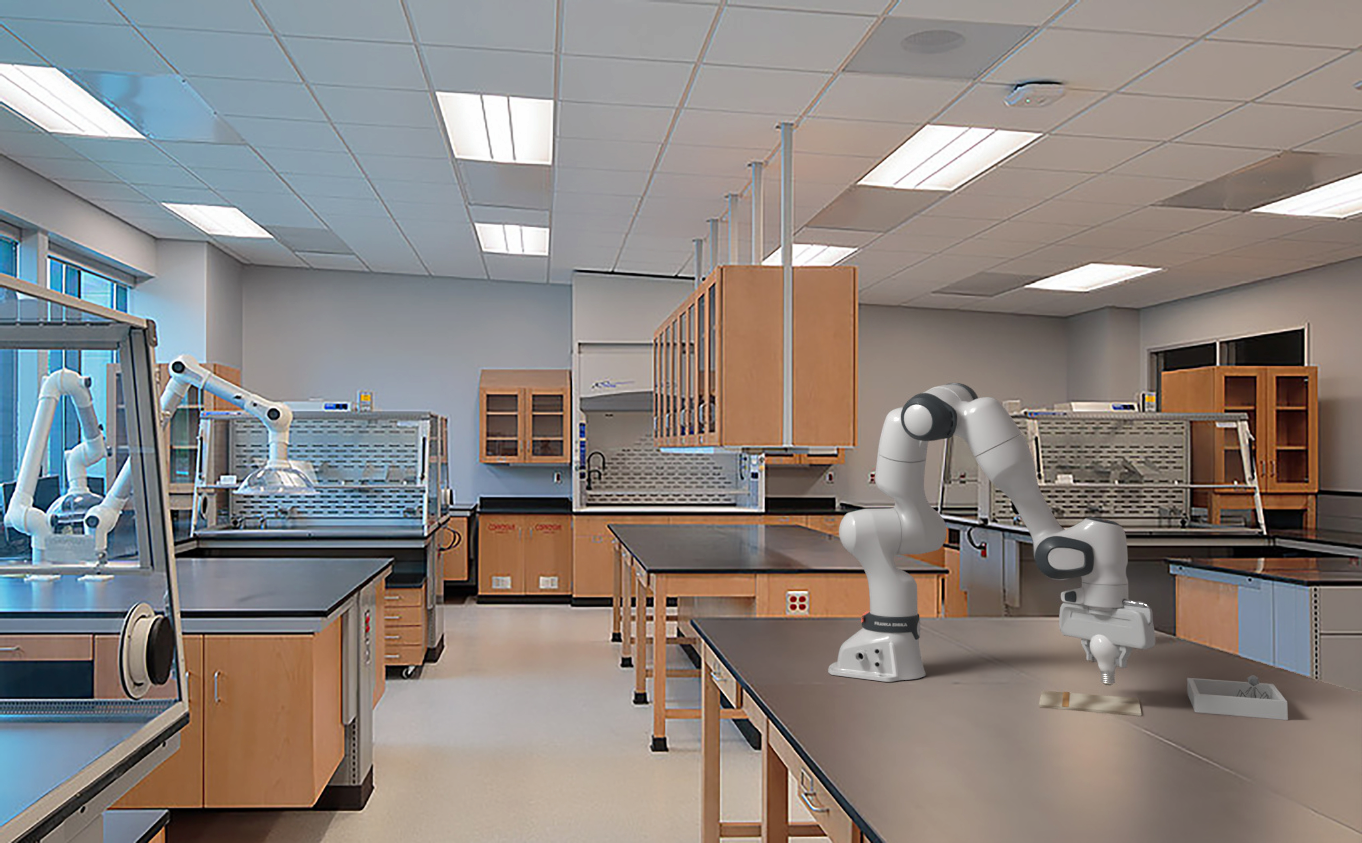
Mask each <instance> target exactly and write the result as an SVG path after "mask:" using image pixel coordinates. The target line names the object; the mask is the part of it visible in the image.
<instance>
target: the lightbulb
mask: <svg viewBox="0 0 1362 843" xmlns="http://www.w3.org/2000/svg"><path fill="white" fill-rule="evenodd" d="M1090 650H1091V653H1092V655H1093V656H1094V657H1095V659H1096V660H1097V665H1098V668H1099V672H1100V682H1101V683H1102V684H1104V685H1105V686H1108V687H1109V686H1112V685H1114V684H1115V683H1116V680H1115V676H1116V675H1115V674H1116V672H1115V671H1116V669H1117V667H1116V665H1115V664H1116V662H1115V658H1119V657H1120V655H1121V653H1122V651H1120V645H1115V644H1112V643H1111V642H1110V641H1109V640H1108V639H1107V638H1106V637H1105V636H1103V635H1095V636H1093V637H1092V639H1091V641H1090Z"/></svg>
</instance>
